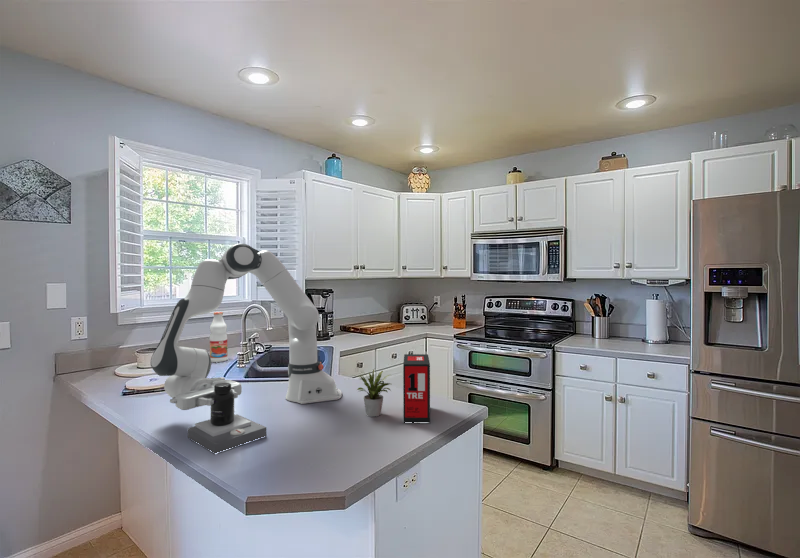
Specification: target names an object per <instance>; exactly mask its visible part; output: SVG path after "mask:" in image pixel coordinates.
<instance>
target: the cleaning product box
mask: <svg viewBox="0 0 800 558" xmlns="http://www.w3.org/2000/svg"><path fill="white" fill-rule="evenodd" d="M402 366H403V369H402V370H403V372H402V375H403V376H402V377H403V378H402V379H403V380H402V381H403V382H402V383H403V387H402V388H403V390H402V391H403V404H402V405H403V424H406V423H405V422H412V423H411V424H415V423H414V422H430V423H431V364H430V359H429V354H426V353H424V354H423V353H422V354H421V353H420V354H419V353H417V354H416V353H413V354H412V353H411V354H408V353H405V354H404V355H403V363H402Z"/></svg>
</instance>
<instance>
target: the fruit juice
mask: <svg viewBox="0 0 800 558" xmlns="http://www.w3.org/2000/svg"><path fill="white" fill-rule="evenodd" d="M223 314H224V312H222V311H213V318H212V322H211V324H210V326H209V331H210V333H209V355H210V358H211V363H220V362H221V363H222V362H226V361H227V360H228V359H229V358H228V334H227V330H228V326H227V325H228V324H227V323H226V322H225V320H224V316H223Z"/></svg>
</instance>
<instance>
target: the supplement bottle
mask: <svg viewBox="0 0 800 558" xmlns="http://www.w3.org/2000/svg"><path fill="white" fill-rule="evenodd" d="M230 390H231V383H218V384H215V386H214V391H215V393H213V394H212V396H211V398H212V399H214V405H211V406H210V418H209V420H210V419H211V424H212V425H214V426H224V425H228V424H231V423H232V422H233V421H234V414H235V399H234V393H233V392H231V391H230Z"/></svg>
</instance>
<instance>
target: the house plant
mask: <svg viewBox="0 0 800 558" xmlns="http://www.w3.org/2000/svg"><path fill="white" fill-rule="evenodd" d="M383 372H384V370H381V371H380V372H379V373H378V374H377V376H375V369H372V372H371V373H372V374H371V373H370V372H368V375H369V376H368V375H367V374H365V372H362V371H361V373H362V374H361V373H359V374H358V375H357V377H358V378H360V380H362V382H363V385H364V386H365V387H366V388H367V390H366V389H365V388H363V387H358V388H357V389H356V391H357V393H358V392H366V393H367V394H366V395H364V396H363V403H364V407H365V415H366V414H367V415H368V416H367V415H366V416H367V417H370V416H376V417H380V416H381V415H380V414H382V410H383V409H382V408H383V403H384V402H383V401H384V396H383V395H381V393H382V392H385V393H388V390H389V391H390V392H392V390H391V389H390V388H389V387H386V386H389V385H391V383H390V382H384V380H386V379H387V377H389V376H390V374H387V375H386V376H384V377H383V378H382V374H383ZM363 374H365V376H366V378H367V379H366V378H365V377H364V376H363ZM351 376H355V377H356V375H353V374H352V375H351ZM375 377H376V378H375ZM367 380H368V381H367ZM379 415H380V416H379Z"/></svg>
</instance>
